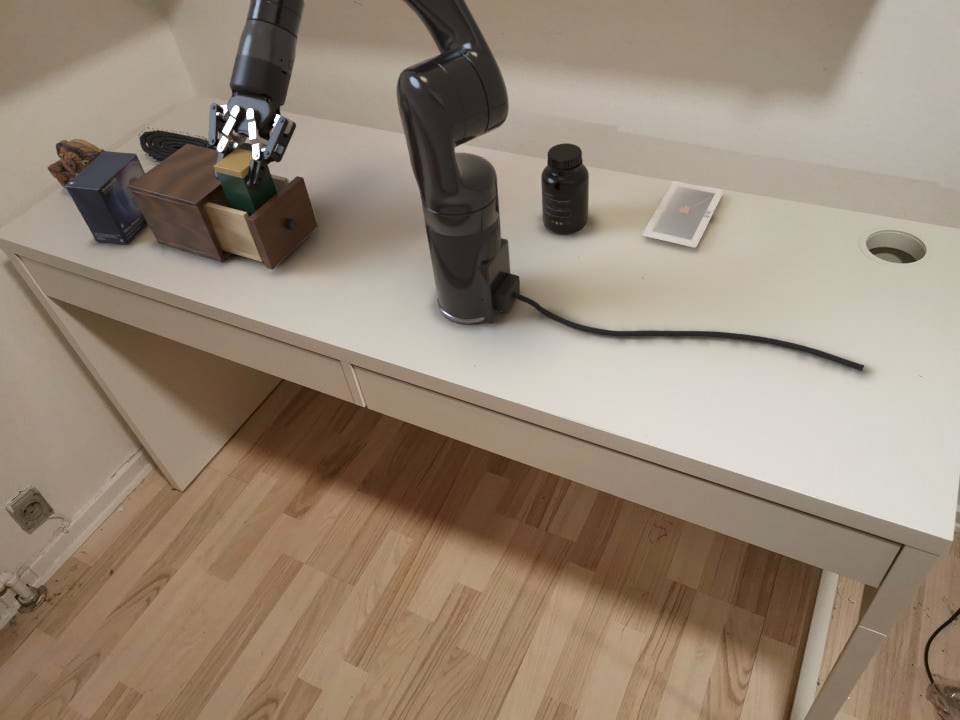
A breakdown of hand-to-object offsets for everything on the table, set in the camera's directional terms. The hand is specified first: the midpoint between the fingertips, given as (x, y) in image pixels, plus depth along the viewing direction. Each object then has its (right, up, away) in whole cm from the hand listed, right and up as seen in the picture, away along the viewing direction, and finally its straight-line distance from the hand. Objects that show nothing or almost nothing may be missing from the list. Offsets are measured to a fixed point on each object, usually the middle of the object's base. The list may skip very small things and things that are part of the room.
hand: (237, 184), depth 99 cm
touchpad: (+64, -4, +6) cm, 65 cm away
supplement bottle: (+47, -4, +7) cm, 48 cm away
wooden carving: (-33, +4, +24) cm, 41 cm away
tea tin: (+1, -2, +4) cm, 5 cm away
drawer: (+1, -6, +9) cm, 11 cm away
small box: (-23, -3, +17) cm, 29 cm away
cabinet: (-8, -4, +14) cm, 16 cm away
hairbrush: (-16, +13, +31) cm, 38 cm away
